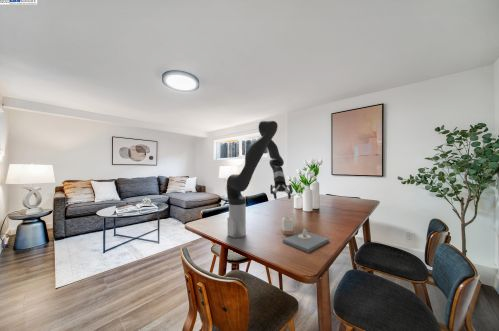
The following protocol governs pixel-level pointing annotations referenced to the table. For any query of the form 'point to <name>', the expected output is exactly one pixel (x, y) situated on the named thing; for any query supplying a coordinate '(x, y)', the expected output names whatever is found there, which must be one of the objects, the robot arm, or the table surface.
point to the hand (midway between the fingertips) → (282, 198)
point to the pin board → (306, 241)
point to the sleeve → (287, 225)
